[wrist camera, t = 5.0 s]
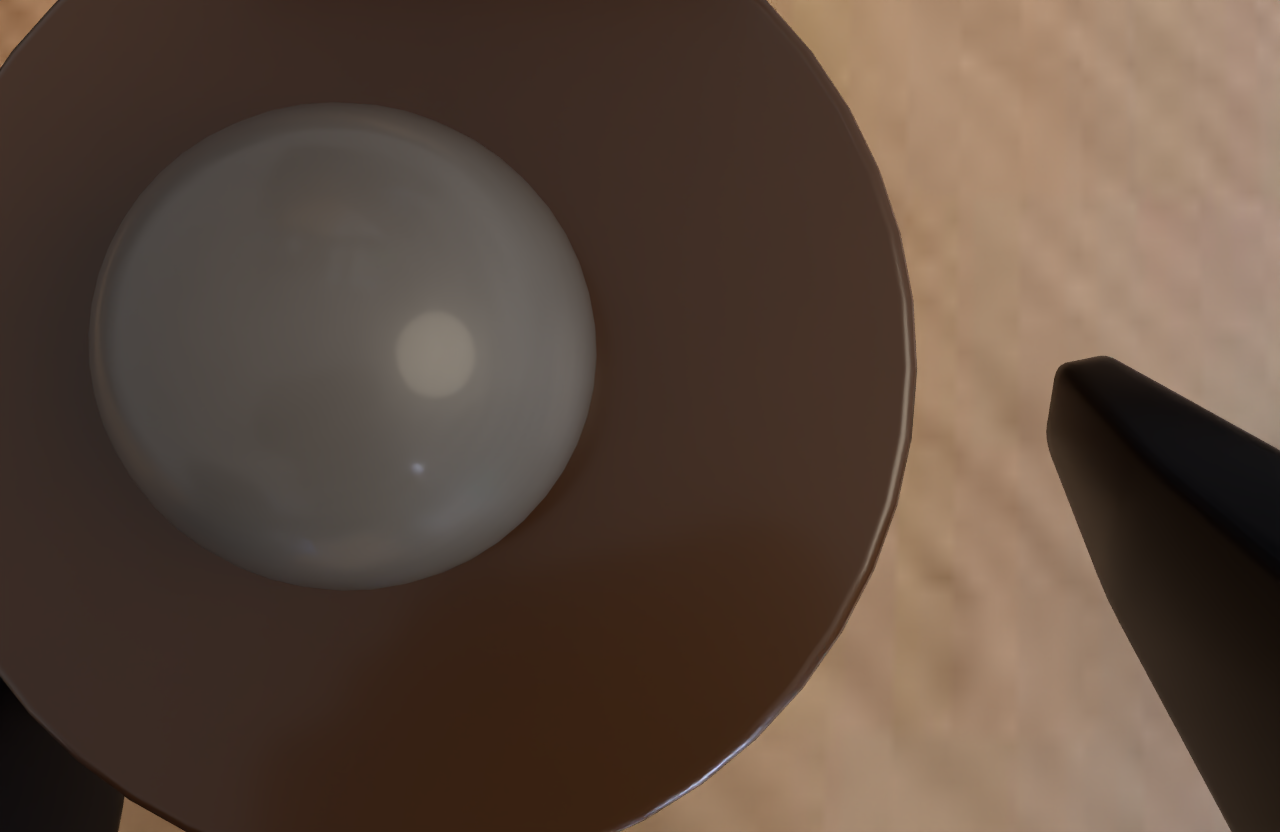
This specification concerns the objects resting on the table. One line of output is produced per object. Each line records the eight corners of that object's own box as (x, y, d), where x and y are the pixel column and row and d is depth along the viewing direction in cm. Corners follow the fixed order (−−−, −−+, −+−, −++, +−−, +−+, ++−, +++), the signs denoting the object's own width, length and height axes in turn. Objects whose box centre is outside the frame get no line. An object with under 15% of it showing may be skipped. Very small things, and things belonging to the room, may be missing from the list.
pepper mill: (818, 347, 18) (1532, -196, 3) (698, 621, 18) (743, 1626, 3) (545, 230, 18) (-177, -832, 3) (427, 500, 18) (-901, 782, 3)
